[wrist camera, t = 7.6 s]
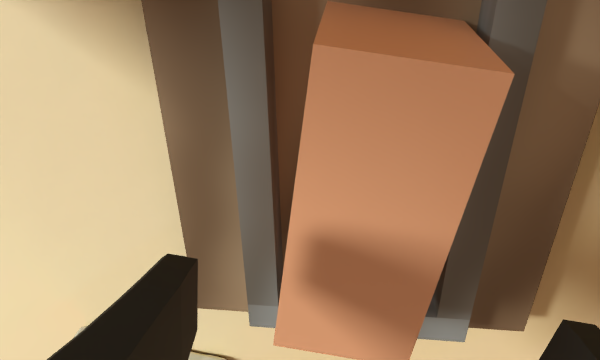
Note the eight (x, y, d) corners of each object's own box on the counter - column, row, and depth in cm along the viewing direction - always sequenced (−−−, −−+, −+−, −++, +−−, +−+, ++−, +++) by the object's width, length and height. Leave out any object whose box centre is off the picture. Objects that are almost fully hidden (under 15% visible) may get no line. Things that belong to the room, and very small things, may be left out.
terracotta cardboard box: (293, 241, 18) (273, 345, 14) (327, 0, 13) (313, 44, 9) (394, 258, 18) (406, 367, 14) (464, 20, 13) (514, 73, 9)
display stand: (205, 284, 22) (185, 334, 19) (142, -117, 14) (92, -123, 11) (513, 305, 20) (535, 361, 18) (644, -129, 12) (719, -139, 10)
